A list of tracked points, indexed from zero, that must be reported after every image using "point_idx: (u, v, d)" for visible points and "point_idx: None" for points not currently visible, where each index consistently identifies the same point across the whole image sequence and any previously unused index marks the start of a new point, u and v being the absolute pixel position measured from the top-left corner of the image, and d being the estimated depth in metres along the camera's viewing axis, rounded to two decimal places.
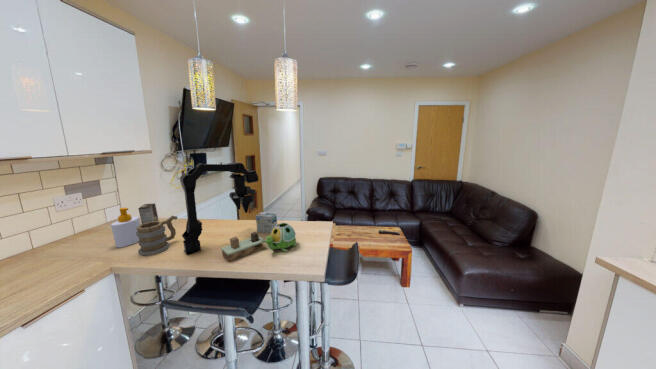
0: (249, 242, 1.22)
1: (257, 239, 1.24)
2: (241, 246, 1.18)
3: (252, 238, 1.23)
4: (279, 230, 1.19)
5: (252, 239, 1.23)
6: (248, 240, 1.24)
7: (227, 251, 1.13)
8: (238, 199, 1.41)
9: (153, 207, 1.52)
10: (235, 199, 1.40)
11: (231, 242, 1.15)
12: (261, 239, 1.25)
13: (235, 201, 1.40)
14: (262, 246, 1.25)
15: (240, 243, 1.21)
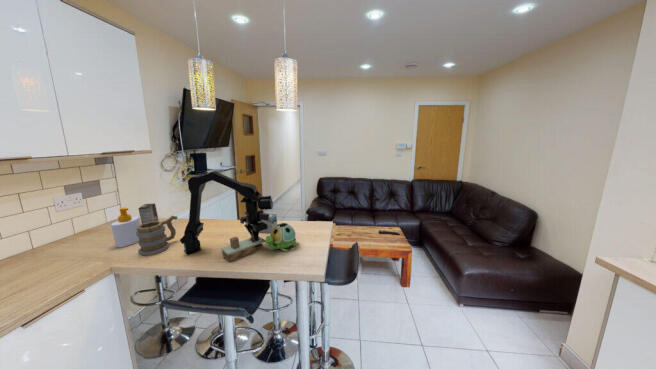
0: (249, 242, 1.22)
1: (257, 239, 1.24)
2: (241, 246, 1.18)
3: (252, 238, 1.23)
4: (279, 230, 1.19)
5: (252, 239, 1.23)
6: (248, 240, 1.24)
7: (227, 251, 1.13)
8: (252, 226, 1.25)
9: (153, 207, 1.52)
10: (249, 226, 1.23)
11: (231, 242, 1.15)
12: (261, 239, 1.25)
13: (249, 229, 1.23)
14: (262, 246, 1.25)
15: (240, 243, 1.21)
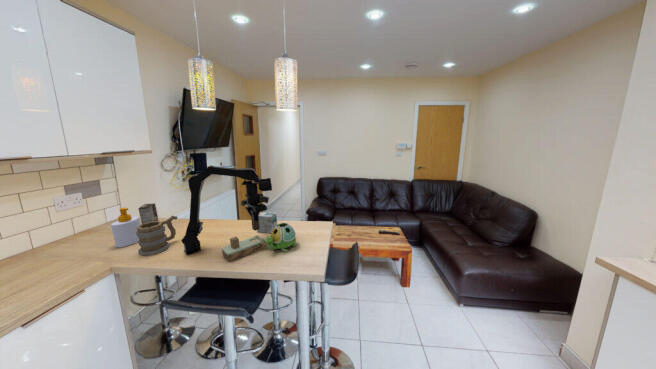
0: (249, 242, 1.22)
1: (257, 221, 1.29)
2: (241, 246, 1.18)
3: (252, 220, 1.28)
4: (279, 230, 1.19)
5: (252, 221, 1.28)
6: (248, 240, 1.24)
7: (227, 251, 1.13)
8: (253, 208, 1.29)
9: (153, 207, 1.52)
10: (249, 208, 1.28)
11: (231, 242, 1.15)
12: (261, 239, 1.25)
13: (249, 211, 1.28)
14: (262, 246, 1.25)
15: (240, 243, 1.21)
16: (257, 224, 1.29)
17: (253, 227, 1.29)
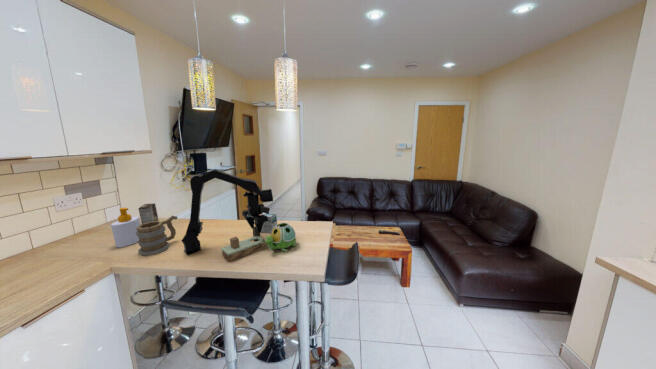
0: (249, 242, 1.22)
1: (258, 232, 1.32)
2: (241, 246, 1.18)
3: (254, 231, 1.31)
4: (279, 230, 1.19)
5: (254, 232, 1.31)
6: (248, 240, 1.24)
7: (227, 251, 1.13)
8: (252, 218, 1.34)
9: (153, 207, 1.52)
10: (249, 218, 1.33)
11: (231, 242, 1.15)
12: (261, 239, 1.25)
13: (249, 220, 1.33)
14: (262, 246, 1.25)
15: (240, 243, 1.21)
16: None
17: None
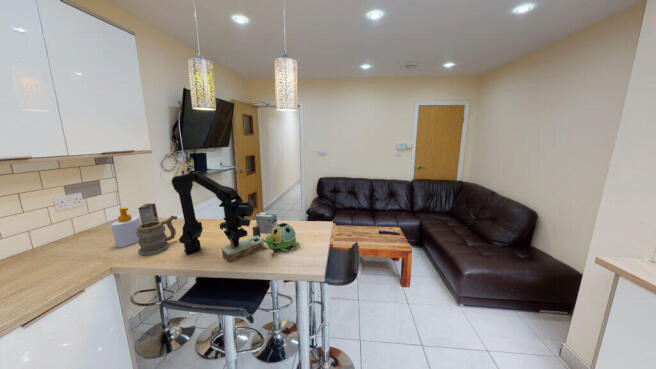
0: (249, 242, 1.22)
1: (258, 232, 1.32)
2: (241, 246, 1.18)
3: (254, 231, 1.31)
4: (279, 230, 1.19)
5: (254, 232, 1.31)
6: (248, 240, 1.24)
7: (227, 251, 1.13)
8: None
9: (153, 207, 1.52)
10: (228, 233, 1.16)
11: (231, 242, 1.15)
12: (261, 239, 1.25)
13: (228, 235, 1.16)
14: (262, 246, 1.25)
15: (240, 243, 1.21)
16: None
17: None
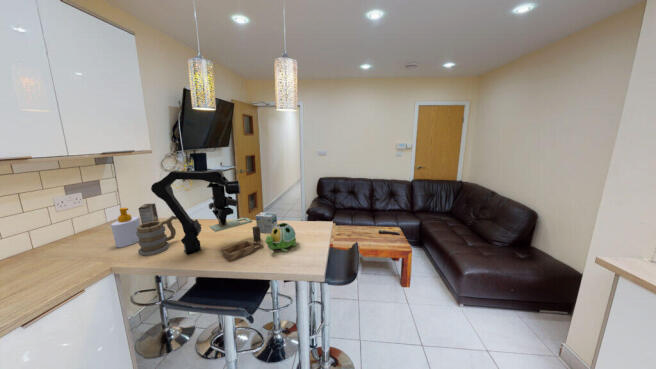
0: (236, 222, 1.29)
1: (258, 232, 1.32)
2: (228, 225, 1.25)
3: (254, 231, 1.31)
4: (279, 230, 1.19)
5: (254, 232, 1.31)
6: (236, 220, 1.31)
7: (215, 228, 1.21)
8: None
9: (153, 207, 1.52)
10: (217, 212, 1.24)
11: (219, 220, 1.23)
12: (248, 220, 1.32)
13: (217, 214, 1.24)
14: (262, 246, 1.25)
15: (228, 222, 1.28)
16: (258, 236, 1.32)
17: (254, 239, 1.32)
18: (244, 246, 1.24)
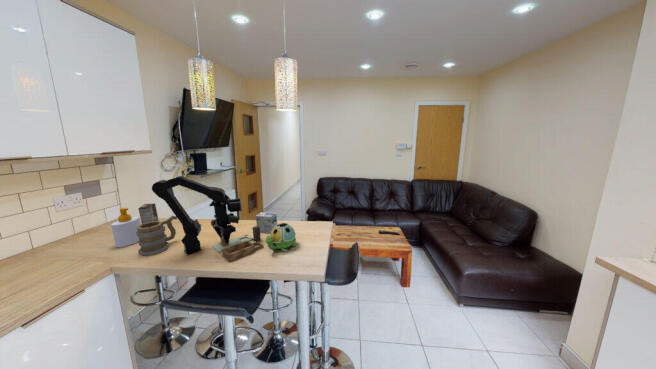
0: (238, 240, 1.32)
1: (258, 232, 1.32)
2: (231, 244, 1.28)
3: (254, 231, 1.31)
4: (279, 230, 1.19)
5: (254, 232, 1.31)
6: (237, 239, 1.34)
7: (217, 249, 1.23)
8: (221, 228, 1.29)
9: (153, 207, 1.52)
10: (217, 228, 1.28)
11: (222, 240, 1.25)
12: (250, 238, 1.35)
13: (217, 230, 1.28)
14: (262, 246, 1.25)
15: (230, 241, 1.31)
16: (258, 236, 1.32)
17: (254, 239, 1.32)
18: (244, 246, 1.24)
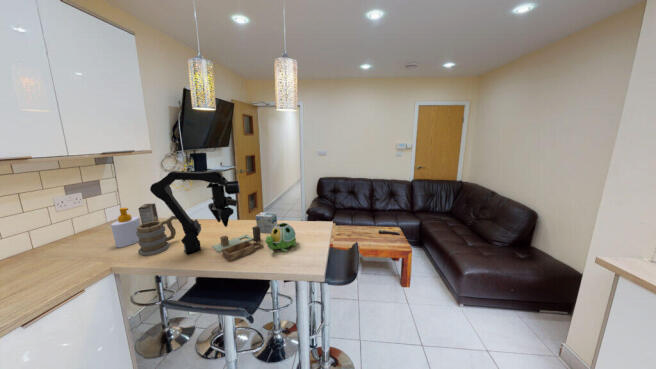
0: (238, 240, 1.32)
1: (258, 232, 1.32)
2: (231, 244, 1.28)
3: (254, 231, 1.31)
4: (279, 230, 1.19)
5: (254, 232, 1.31)
6: (237, 239, 1.34)
7: (217, 249, 1.23)
8: (218, 211, 1.28)
9: (153, 207, 1.52)
10: (214, 211, 1.26)
11: (222, 240, 1.25)
12: (250, 238, 1.35)
13: (214, 213, 1.26)
14: (262, 246, 1.25)
15: (230, 241, 1.31)
16: (258, 236, 1.32)
17: (254, 239, 1.32)
18: (244, 246, 1.24)
